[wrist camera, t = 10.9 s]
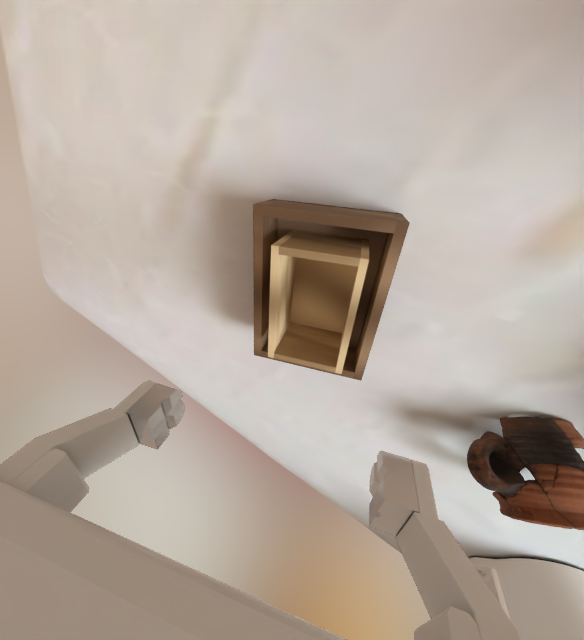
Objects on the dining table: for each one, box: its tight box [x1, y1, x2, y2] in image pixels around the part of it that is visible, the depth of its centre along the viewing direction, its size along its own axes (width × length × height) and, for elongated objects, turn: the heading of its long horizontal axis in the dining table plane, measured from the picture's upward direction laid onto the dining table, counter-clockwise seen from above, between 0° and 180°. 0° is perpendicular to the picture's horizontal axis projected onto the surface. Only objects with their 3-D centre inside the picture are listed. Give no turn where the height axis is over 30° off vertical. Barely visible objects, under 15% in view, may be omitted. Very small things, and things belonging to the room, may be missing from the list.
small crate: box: [268, 230, 369, 374], centre depth 19 cm, size 9×6×6 cm, turn 176°
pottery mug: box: [467, 417, 584, 530], centre depth 24 cm, size 12×10×8 cm
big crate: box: [253, 199, 409, 380], centre depth 21 cm, size 13×10×4 cm
